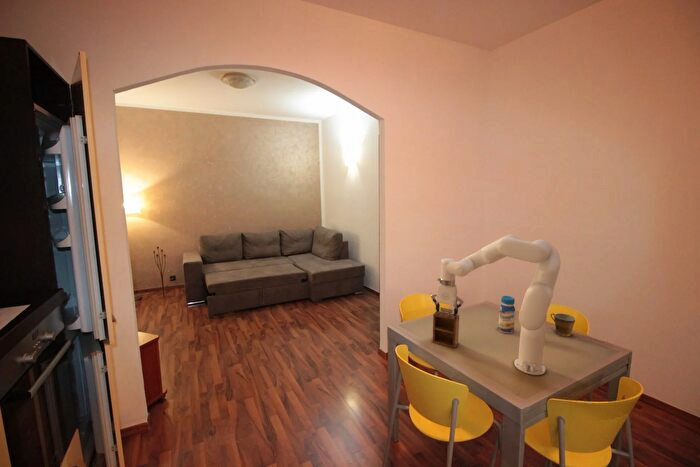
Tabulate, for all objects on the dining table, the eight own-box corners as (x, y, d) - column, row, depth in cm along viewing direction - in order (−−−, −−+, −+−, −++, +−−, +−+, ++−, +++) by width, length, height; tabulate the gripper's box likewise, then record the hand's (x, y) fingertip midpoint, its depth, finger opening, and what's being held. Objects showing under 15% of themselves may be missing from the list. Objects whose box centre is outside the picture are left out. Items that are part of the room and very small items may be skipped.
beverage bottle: (514, 329, 186) (516, 296, 183) (513, 335, 179) (515, 301, 176) (498, 326, 191) (500, 294, 188) (497, 331, 183) (499, 298, 180)
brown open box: (454, 348, 166) (456, 312, 163) (432, 342, 173) (433, 308, 170) (458, 343, 171) (459, 309, 168) (436, 337, 178) (437, 304, 175)
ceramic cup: (577, 335, 178) (579, 318, 176) (565, 339, 174) (567, 321, 172) (555, 326, 190) (557, 310, 188) (543, 329, 186) (545, 313, 184)
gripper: (429, 281, 169) (428, 312, 171) (462, 286, 159) (461, 319, 162) (433, 277, 175) (433, 307, 177) (466, 282, 165) (465, 314, 168)
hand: (446, 313), depth 169 cm, fingers open, 9 cm apart
